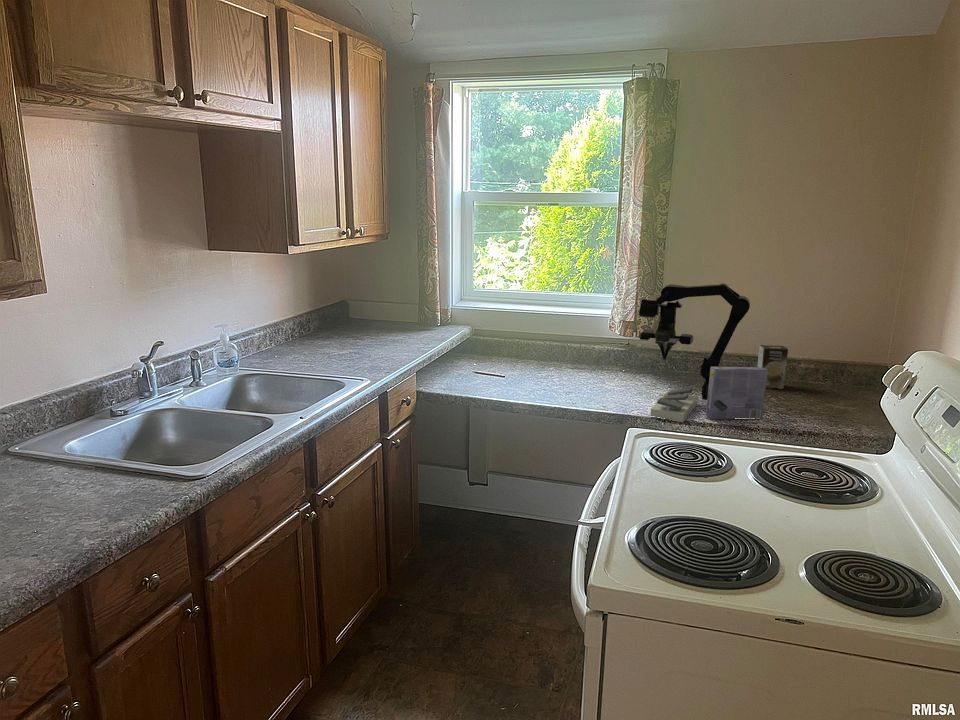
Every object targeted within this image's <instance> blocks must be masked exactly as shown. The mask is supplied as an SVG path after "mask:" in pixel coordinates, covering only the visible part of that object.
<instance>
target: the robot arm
mask: <svg viewBox="0 0 960 720" xmlns="http://www.w3.org/2000/svg"><path fill="white" fill-rule="evenodd" d="M713 296H714V297H716V296H721V297H722V298H723V299H724V300H725V301H726V302H727V304H728V305H730V306H731V309H730V313H729V316H728V319H727V321H726V323H725V325H724V327H723V329H722V331H721V333H720V334H719V335H720V336H719V338H718V339H717V342H716V343H715V345H714V347H713V349H712V352H711V353H710V354H709V355H708V354H705V355H704V358H703V361H701V363H700V365H699V368H700V371H699V373H700V375H701V377H702V378H703V379H705V380H704V382H703V384H702V386H701V399H703V400H707V398H708V387H709V378H710V368H711V367H720V363H721V360H722V356H723V355H724V353H725V350H726V349H727V347H728V344H729V342H730V340H731V338H732V336H733V335H734V332H735V331H736V329H737V327H738V325H739V323H740V322H742V320H743V319H744V318H745V316H746V315H747V313H748V311H749V310H750V309H751V307H750V306H751V302H750V299H749V298H748V297H746V296H744V295H740V294H739V293H738V292H737V291H735V290H734V289H732V288H731V287H729V285H728V284H726V283H725V282H724V283H720V284H719V283H718V284H717V283H716V284H704V285H692V286H691V285H689V286H687V285H686V286H685V285H680V284H667V285H665V286H664V287H663V288H662V289H661V291H660V296H659V297H657V298H656V299H646V298H642V299H641V300H640V305H639V309H638V310H639V311H638V315H639V318H651V319H655V318H656V317H657V316H659V323H658V325H657V329H656V331H654V330H647V329H644V330H643V331H641V333H640V334H639V340H640V341H648V340H650V339H654V343H655V344H657V345H658V347H659V349H660V353H661V355H662V359H663V360H665V361H666V360H667V358H668V356H669V354H670V352H671V350H672V348H673V346H675V345H676V344H678V342H679V343H680V344H681V345H691V344H692V343H694V335H693V334H687V333H681V334H680V335H677V332H676V324H677V322H676V318H677V317H676V316H677V309H681V308H682V307H683V304H682V303H680V301H679V300H682V299H686V298H696V297H713ZM674 301H676V302H674ZM665 302H666V304H665Z"/></svg>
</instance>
